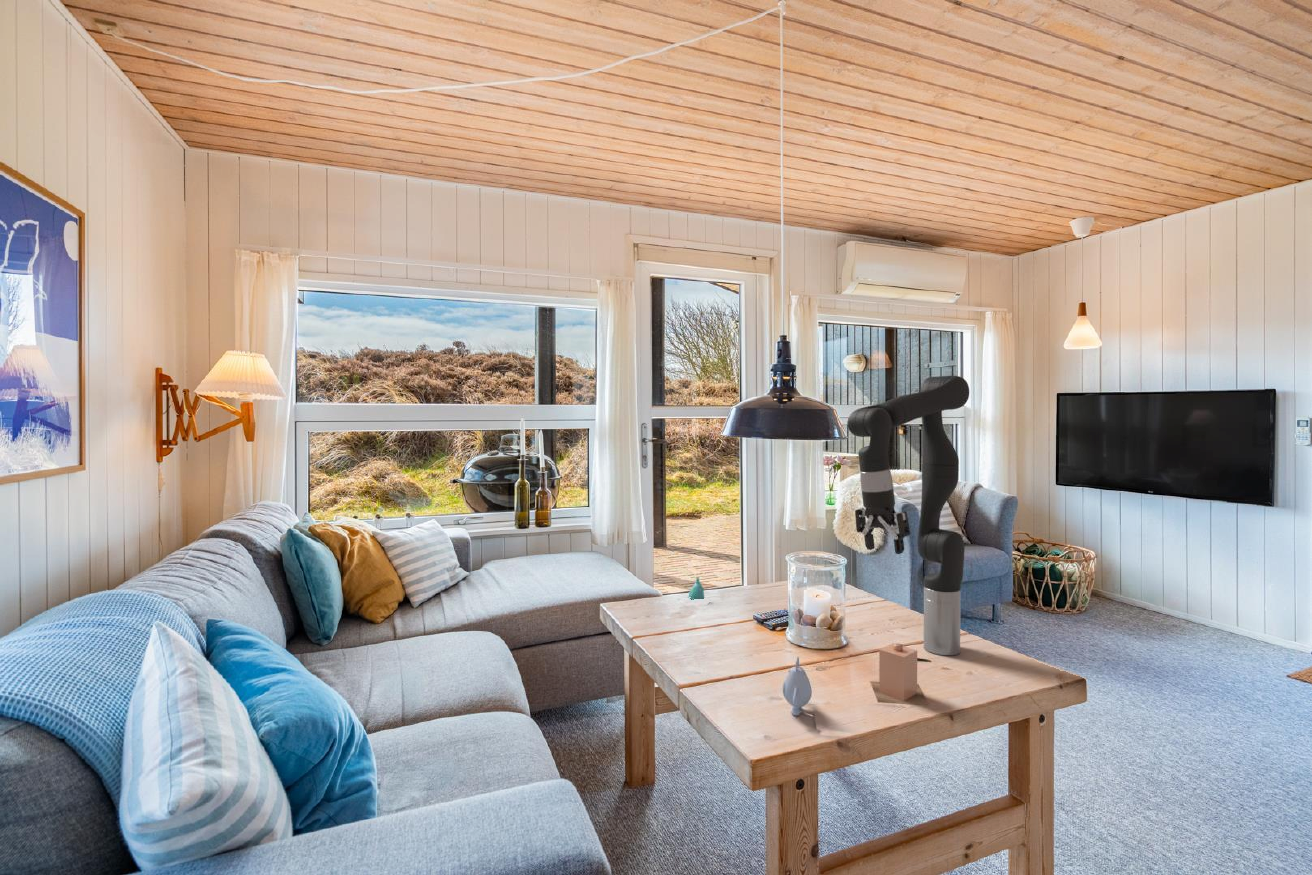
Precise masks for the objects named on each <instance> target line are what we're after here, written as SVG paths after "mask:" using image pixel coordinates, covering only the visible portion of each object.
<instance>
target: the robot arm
mask: <svg viewBox="0 0 1312 875" xmlns="http://www.w3.org/2000/svg"><path fill="white" fill-rule="evenodd" d="M969 398H970V387H969V384H968V382H967V380H966V379H964V378H963V377H961V376H960V375H940V376H930V377H929V376H928V377H927V378H925V379H924V381H923V382H922V384H921V387H920V391H919V392H915V393H907V394H904V395H899V396H897V397H893V398H892V399H891V398H890V399H888V400H885V401H883V402H882V403H881V402H880V403H877V404H874V405H873V404H872V405H869V406H864V407H861V408H857V409H855V410H854V411H852V412H851V413H850V414H849V416H848V419H847V421H846V422H847V424H846V425H847V429H848V430H849V432H850V433H851V434H852V435H853V436H856V437H859V438H867V437H870V440H869V443H868V445H866V446H864V447H861V448H860V449H859V450H858V454H857V455H858V456H857V457H858V464H859V470H860V471H859V473H860V475H859V477H860V478H859V479H860V486H861V487H860V490H861V497H862V504H863V507H861V508H858V509H855V510H854V514H855V515H854V516H855V527H856V528H855V529H856V532H857V533H861V534H862V535H863V536H864V538H863V539H864V546H865V548H866V550H869V551H871V550H874V549H875V547H876V546H875V540H874V534H873V532H874V530H875V529H882V530H886V531H887V532H888V533H890V536H892V537H893V544H894V545H893V546H894V552H895V554H896V555H902V554H903V553H904V551H905V543H904V542H905V541H904V539H905V538H906V537H909V536H910V535H911V531H910V525H909V518H908V514H907V512H906V511H905V510H904V511H901V512H896V509H895V505H896V500H895V493H894V484H893V477H892V473H891V472H892V471H891V466H890V461H889V448H890V442H891V435H892V428H897V427H899V426H902V425H904V424H905V425H906V424H907V423H909V422H910V423H911V421H914V420H916V419H921V425H922V456H921V457H922V460H921V505H920V515H919V523H918V531H917V552H918V555H919V557H921V559H922V560H925V561H928V562H932V563H937V564H940V568H939V571H938V572H936V573H935V572H934V573H930V574H926V575H925V576H924V577H923V649H925V651H927V652H929V653H932V654H935V655H941V656H956V655H959V654H960V652H961V613H962V612H961V608H962V607H961V606H962V605H961V602H962V601H961V599H962V598H961V597H962V596H961V585H962V581H963V577H964V564H965V562H964V561H965V550H966V549H965V541H964V538H963V536H962V535H961V533H960V532H957V531H953V530H946V529H941V528H940V521H941V520H940V519H941V513H942V511H943V507H944V506H945V504H946V503H947V502H948V500H949V498H950V497H951V496H952V494H953V493H954V491H955V489H956V488H957V486H958V483H959V470H960V469H959V465H960V462H959V456H958V453H957V450H956V448H955V447H954V445H953V444H952V441H951V440H950V438H949V437H948V435H947V433H946V431H945V428H944V424H943V411H948V410H949V411H952V410H957V409H960V408H962V407H963V406H965V405H966V404H967V402H968V400H969ZM866 518H867V520H866Z"/></svg>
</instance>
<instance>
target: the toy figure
mask: <svg viewBox="0 0 1312 875" xmlns="http://www.w3.org/2000/svg"><path fill="white" fill-rule="evenodd" d="M799 658H800V656H797V657H796V660H795V666H793V667H791V668H790V669H789V670H788V673H787V675H786V676H785V679H784V681H783V684H782V694H783V697H784V699H785V700H786V702H787V703H788V704H789V705H791V706H792V709H791V711H790V714H791V715H792V716H797V717H798V716H800V714H801V712H802V711H801V710H802V707H805V706H806V705H807V704H808V703H809V702H810V700H811V698H812V693H813V691H812V686H811V682H810V678H809V677H808V675H807V673H806V671H805V670H804V668H803V667H802V666H801V667H800V659H799Z"/></svg>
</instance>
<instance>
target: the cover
mask: <svg viewBox="0 0 1312 875" xmlns="http://www.w3.org/2000/svg"><path fill="white" fill-rule="evenodd" d="M878 650H879V651H878V652H879V656H878V659H879V660H878V662H879V665H878V666H879V668H878V669H879V674H878V675H879V676H878V678H879V679H878V680H879V681H878V682H879V692H881V693H883V694H886V695H889V696H891V697H894V698H897V699H900V700H902V701H904V700H906V699H908V698H910V697H911V696H913V695H915V694H916V693H917V684H918V661H917V658H918V650H917V649H913V648H911V647H906V646H904V645H903V644H901V643H897V642H896V643H891V644H889V645H886V646H884V647H882V648H880V649H878Z"/></svg>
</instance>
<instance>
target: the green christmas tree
mask: <svg viewBox="0 0 1312 875" xmlns="http://www.w3.org/2000/svg"><path fill="white" fill-rule="evenodd" d="M688 592H689V593H688V598H689V597H691V598H690V599H691V600H694V599H704V598H705V593H704V592H705V591H704V587H703V586H702V584H701V581H700V578H699V576H696V578H695V583H694V584H693V586H692V588H691V589H690V590H689V591H688Z"/></svg>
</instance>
